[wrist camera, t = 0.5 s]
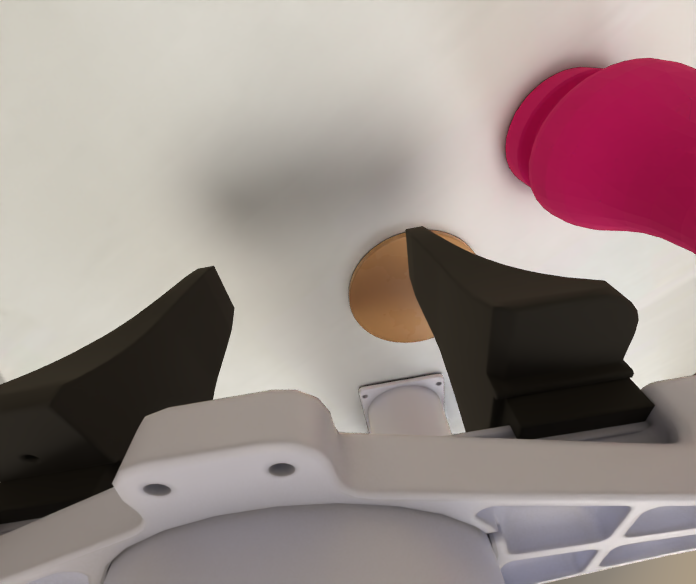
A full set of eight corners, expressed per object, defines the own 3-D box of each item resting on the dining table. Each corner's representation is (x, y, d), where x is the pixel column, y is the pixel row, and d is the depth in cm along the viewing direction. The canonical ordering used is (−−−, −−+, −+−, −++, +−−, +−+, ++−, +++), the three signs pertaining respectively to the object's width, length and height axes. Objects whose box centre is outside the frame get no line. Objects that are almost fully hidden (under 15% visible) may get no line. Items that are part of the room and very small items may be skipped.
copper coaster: (477, 325, 28) (479, 330, 28) (359, 347, 29) (360, 352, 28) (484, 216, 22) (488, 220, 22) (336, 245, 23) (337, 249, 22)
